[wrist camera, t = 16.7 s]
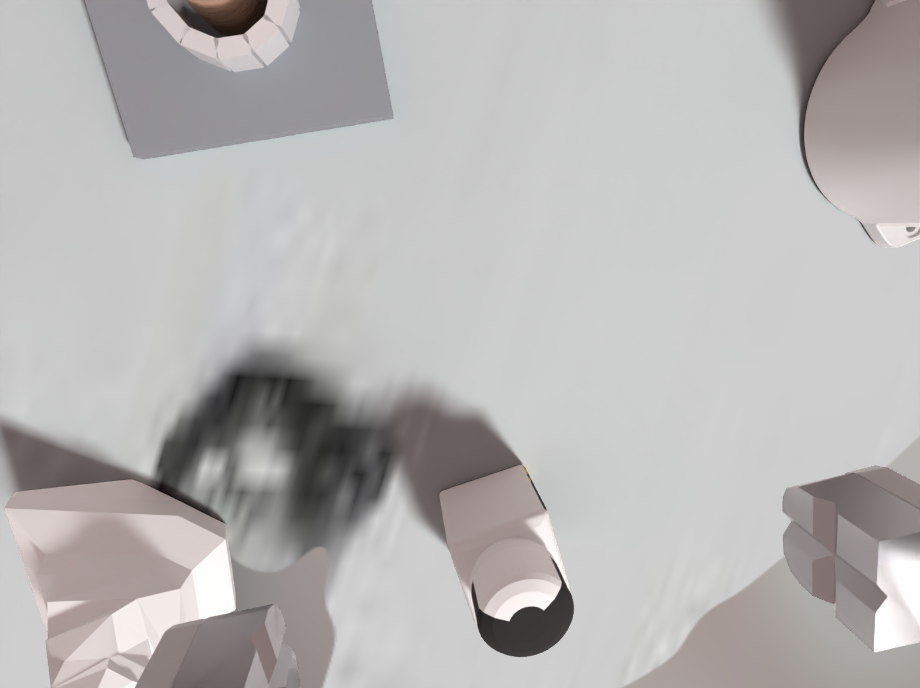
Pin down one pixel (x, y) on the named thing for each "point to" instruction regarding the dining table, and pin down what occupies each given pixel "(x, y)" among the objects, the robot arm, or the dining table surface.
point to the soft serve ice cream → (117, 574)
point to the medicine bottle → (508, 562)
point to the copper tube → (230, 14)
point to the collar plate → (239, 72)
